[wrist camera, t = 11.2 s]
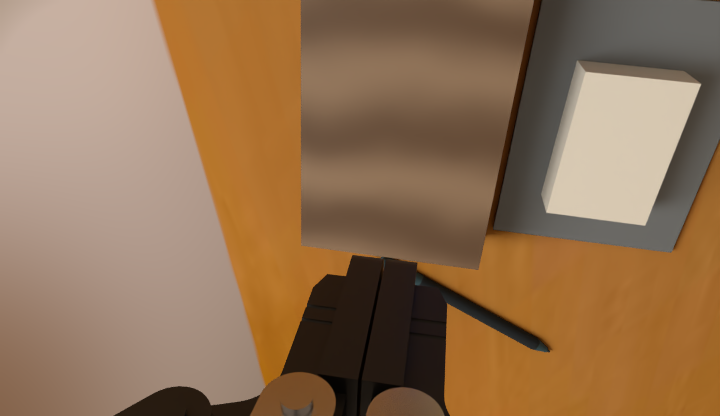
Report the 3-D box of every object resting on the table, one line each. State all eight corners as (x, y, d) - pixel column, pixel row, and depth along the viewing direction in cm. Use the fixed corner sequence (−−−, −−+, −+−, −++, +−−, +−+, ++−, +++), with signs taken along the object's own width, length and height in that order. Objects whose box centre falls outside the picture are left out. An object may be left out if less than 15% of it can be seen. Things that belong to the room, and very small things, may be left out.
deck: (318, -50, 31) (300, -43, 28) (530, -34, 30) (539, -25, 26) (315, 216, 40) (301, 245, 37) (476, 237, 39) (478, 269, 35)
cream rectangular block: (701, 84, 29) (684, 71, 31) (585, 71, 29) (577, 60, 31) (645, 225, 33) (633, 206, 35) (546, 212, 34) (541, 194, 36)
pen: (544, 350, 44) (546, 361, 42) (378, 259, 42) (376, 268, 41) (553, 342, 43) (555, 353, 42) (384, 250, 41) (383, 259, 40)
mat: (544, -13, 30) (545, -12, 30) (773, 5, 29) (776, 6, 28) (493, 227, 38) (493, 229, 38) (669, 250, 37) (671, 252, 37)
